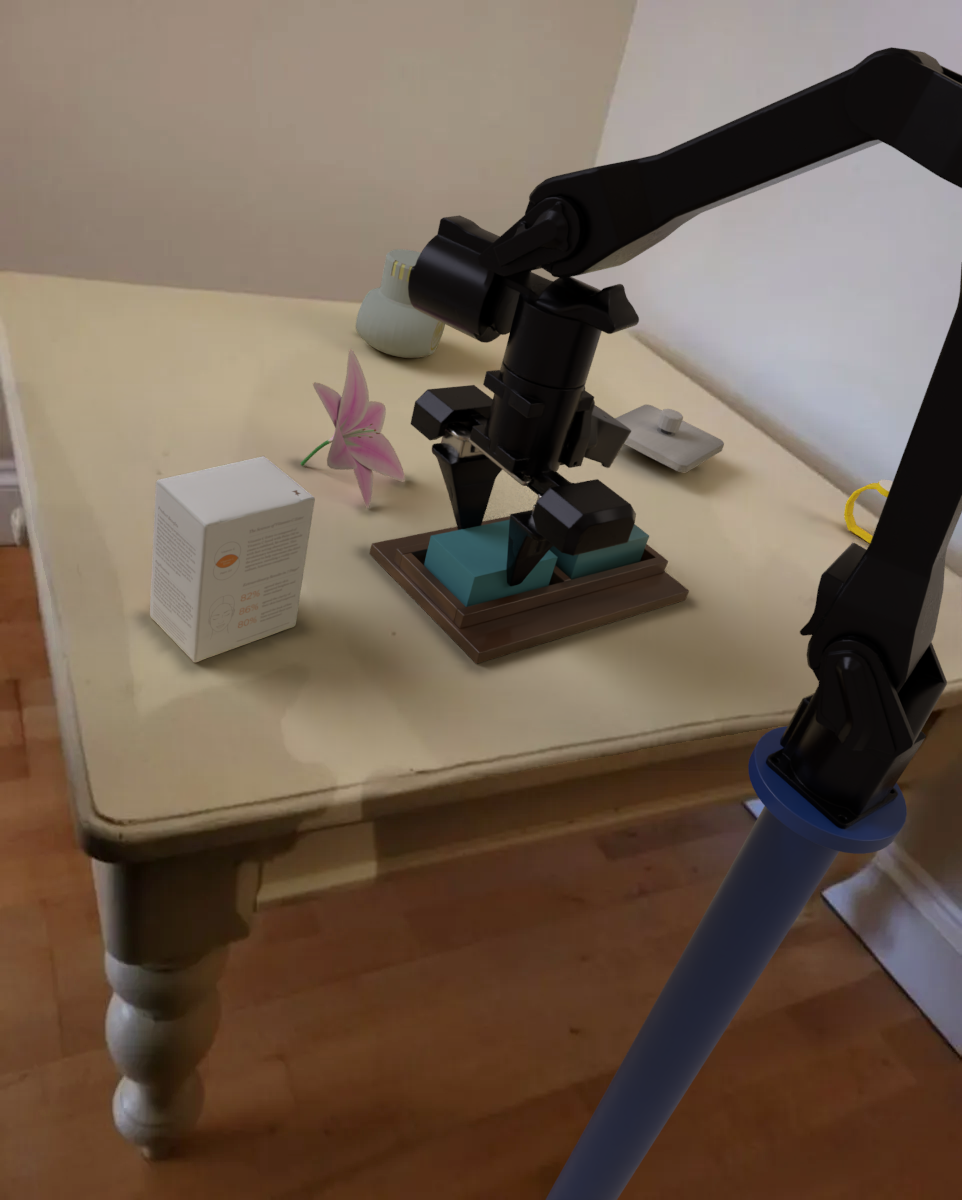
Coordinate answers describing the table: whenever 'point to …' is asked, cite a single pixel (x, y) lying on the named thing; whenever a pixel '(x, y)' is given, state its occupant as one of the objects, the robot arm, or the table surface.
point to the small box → (228, 555)
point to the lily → (358, 431)
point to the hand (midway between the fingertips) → (490, 562)
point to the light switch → (669, 438)
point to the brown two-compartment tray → (537, 594)
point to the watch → (881, 487)
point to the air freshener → (397, 313)
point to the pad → (481, 564)
